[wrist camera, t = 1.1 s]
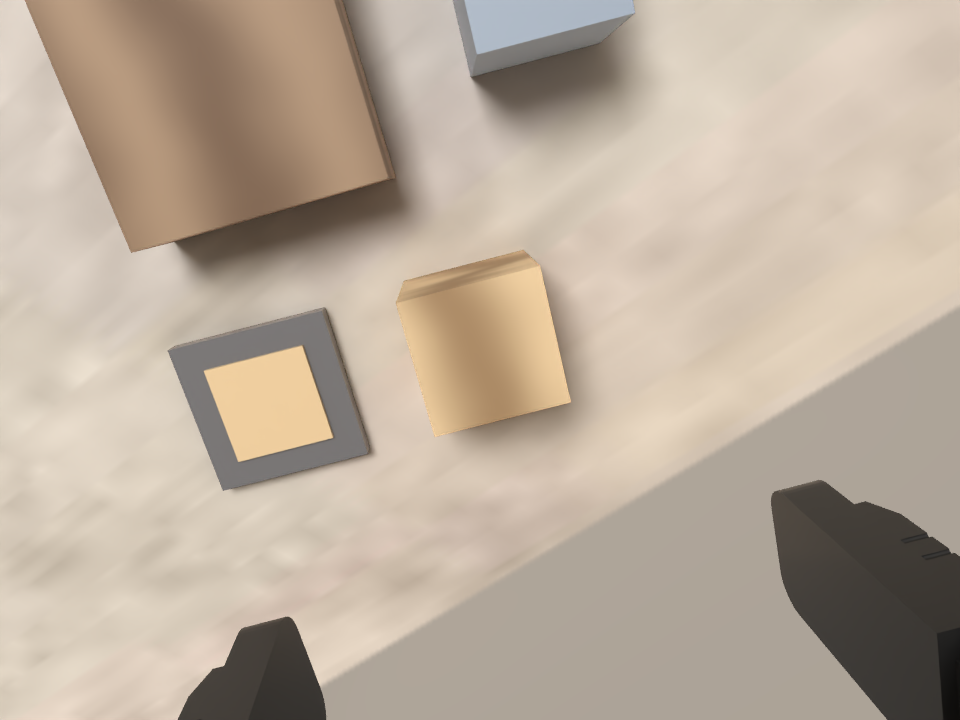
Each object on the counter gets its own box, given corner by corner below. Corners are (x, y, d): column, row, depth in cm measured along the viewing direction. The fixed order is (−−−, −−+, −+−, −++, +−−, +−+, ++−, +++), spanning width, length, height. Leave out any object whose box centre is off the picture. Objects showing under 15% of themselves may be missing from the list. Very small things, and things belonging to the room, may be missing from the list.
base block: (320, -76, 26) (296, -125, 22) (396, 177, 29) (388, 178, 25) (78, -5, 27) (8, -39, 22) (177, 241, 29) (131, 252, 25)
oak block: (523, 249, 30) (540, 265, 25) (549, 364, 31) (570, 402, 26) (404, 280, 30) (395, 303, 25) (436, 392, 32) (434, 437, 26)
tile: (324, 307, 30) (320, 311, 29) (369, 447, 32) (367, 455, 31) (174, 346, 30) (166, 351, 29) (228, 483, 32) (221, 492, 31)
